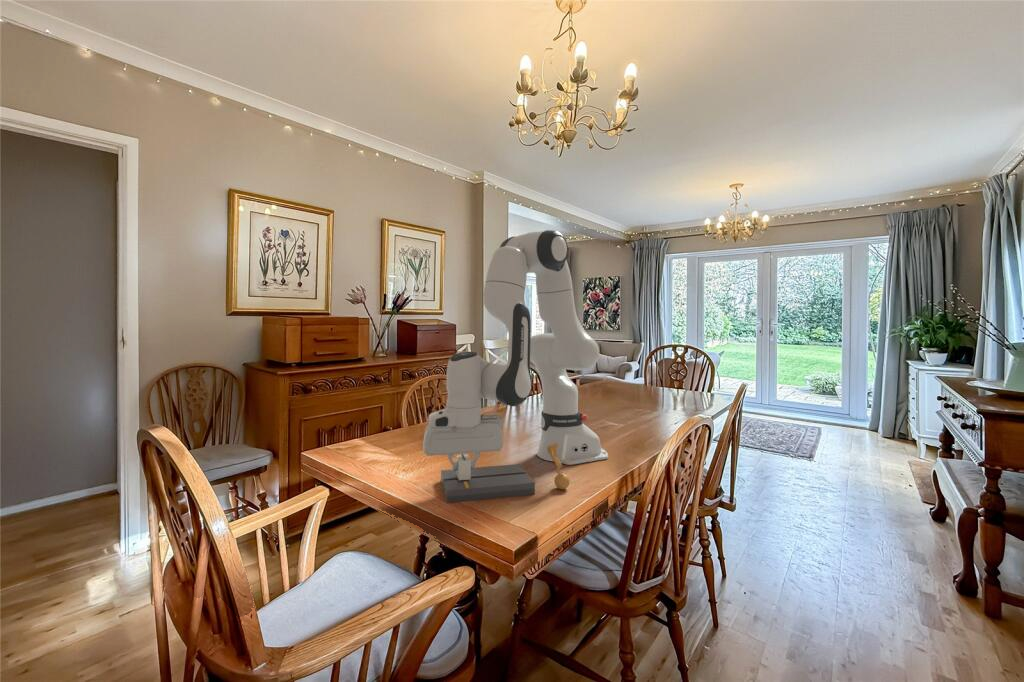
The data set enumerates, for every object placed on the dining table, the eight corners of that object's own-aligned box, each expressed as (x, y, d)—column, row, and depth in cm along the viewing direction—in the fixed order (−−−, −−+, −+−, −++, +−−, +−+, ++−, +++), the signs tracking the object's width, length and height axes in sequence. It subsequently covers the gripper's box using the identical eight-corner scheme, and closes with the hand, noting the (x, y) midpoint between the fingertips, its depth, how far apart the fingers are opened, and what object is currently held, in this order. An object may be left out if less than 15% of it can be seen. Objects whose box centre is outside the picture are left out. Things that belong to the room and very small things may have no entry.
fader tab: (467, 479, 116) (467, 454, 116) (470, 485, 112) (470, 459, 112) (456, 480, 116) (456, 454, 115) (458, 486, 111) (458, 460, 111)
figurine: (570, 495, 111) (571, 448, 110) (546, 494, 111) (547, 447, 111) (568, 482, 119) (569, 439, 118) (546, 482, 120) (546, 438, 119)
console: (519, 474, 125) (519, 463, 125) (534, 494, 112) (534, 481, 111) (440, 481, 119) (440, 469, 119) (447, 503, 106) (447, 489, 106)
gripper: (500, 411, 118) (499, 462, 119) (422, 415, 113) (422, 468, 114) (506, 416, 112) (505, 470, 113) (424, 421, 107) (424, 477, 108)
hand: (463, 469), depth 113 cm, fingers closed on fader tab, 3 cm apart
